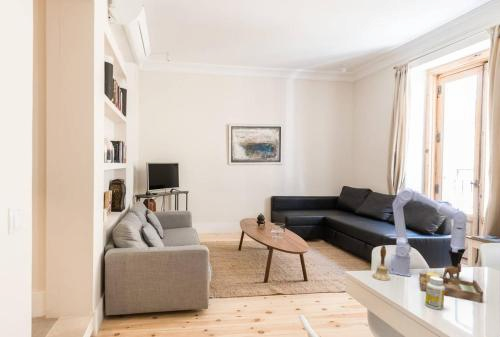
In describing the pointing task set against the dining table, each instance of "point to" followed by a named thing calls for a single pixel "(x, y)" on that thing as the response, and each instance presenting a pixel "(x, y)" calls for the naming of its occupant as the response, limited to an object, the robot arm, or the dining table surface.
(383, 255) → the hand bell
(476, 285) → the walnut lane
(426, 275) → the ochre block
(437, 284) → the supplement bottle
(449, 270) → the lion figurine
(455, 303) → the dining table surface
